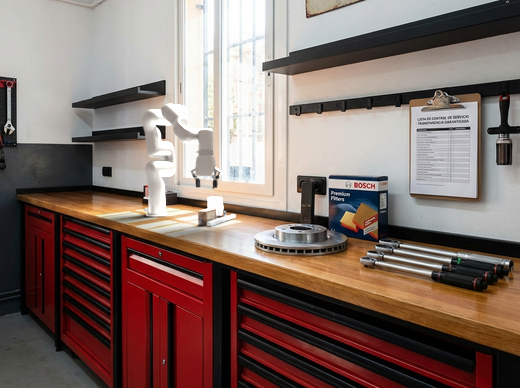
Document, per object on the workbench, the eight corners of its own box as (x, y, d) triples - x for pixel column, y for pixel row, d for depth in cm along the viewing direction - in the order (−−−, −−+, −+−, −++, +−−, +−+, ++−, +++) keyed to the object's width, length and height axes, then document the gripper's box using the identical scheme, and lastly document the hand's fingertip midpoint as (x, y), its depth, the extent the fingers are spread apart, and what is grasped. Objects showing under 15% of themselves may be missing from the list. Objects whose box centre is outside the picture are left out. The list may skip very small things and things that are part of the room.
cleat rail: (207, 226, 199) (207, 222, 199) (232, 217, 225) (232, 214, 225) (210, 226, 198) (210, 222, 198) (235, 217, 224) (235, 214, 224)
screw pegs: (198, 225, 201) (198, 218, 201) (224, 217, 226) (224, 211, 226) (201, 225, 200) (201, 218, 200) (226, 217, 226) (226, 211, 225)
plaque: (198, 224, 204) (198, 210, 203) (208, 221, 213) (208, 208, 212) (206, 225, 202) (206, 211, 201) (216, 222, 211) (215, 208, 210)
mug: (229, 216, 230) (228, 198, 229) (216, 218, 224) (216, 199, 223) (217, 214, 239) (217, 196, 238) (205, 215, 234) (204, 197, 233)
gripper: (187, 153, 204) (187, 187, 205) (217, 153, 197) (218, 188, 199) (194, 153, 211) (195, 186, 212) (224, 153, 204) (225, 187, 206)
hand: (206, 187), depth 206 cm, fingers open, 9 cm apart
